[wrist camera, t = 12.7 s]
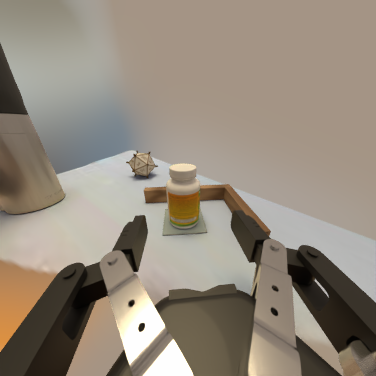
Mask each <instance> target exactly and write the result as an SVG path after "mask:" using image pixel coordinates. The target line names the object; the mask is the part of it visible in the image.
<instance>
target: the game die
mask: <svg viewBox="0 0 376 376" xmlns="http://www.w3.org/2000/svg"><path fill="white" fill-rule="evenodd" d="M149 154H150V152H149V153H148V154H146V153H138V151H137V154H136V155H135V154H134V157H133V158H132V159H131V160H130V161H129V162H126V163H129V164H130V166H131V168H132V169H133V170H132V172H135V176H136V175H142V176H147V178H148V175H149V173H150V172H151V171H152V170H153V169H154V167H158V166H155V164H154V162H153V160H152V158H151V157H150V155H149Z"/></svg>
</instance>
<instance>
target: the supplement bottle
mask: <svg viewBox="0 0 376 376" xmlns="http://www.w3.org/2000/svg"><path fill="white" fill-rule="evenodd" d="M169 169H170V177H171V179H170V180H169V181H168V182H167V184H166V191H167V203H168V215H169V221H170V223H171V224H172V225H173V226H174V227H176V228H179V229H188V228H191V227H193V226H195V225H196V224H197V223H198V221H199V208H200V182H199V181H198V180H197V179H196V178H195V177H196V166H194V165H191V164H176V165H172V166H170V168H169Z"/></svg>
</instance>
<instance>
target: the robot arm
mask: <svg viewBox="0 0 376 376" xmlns="http://www.w3.org/2000/svg"><path fill="white" fill-rule="evenodd" d="M64 197H65V194H64V191H63V189H62V187H61V185H60V183H59V180H58V178H57V176H56V174H55V171H54V169H53V167H52V165H51V163H50V160H49V158H48V156H47V154H46V152H45V150H44V148H43V145H42V143H41V141H40V139H39V136H38V134H37V132H36V130H35V128H34V126H33V124H32V121H31V119H30V117H29V115H28V113H27V111H26V108H25V106H24V103H23V99H22V96H21V94H20V91H19V89H18V87H17V84H16V82H15V80H14V77H13V75H12V72H11V70H10V67H9V64H8V62H7V59H6V57H5V54H4V51H3V49H2V46H1V44H0V211H6V213H9V214H21V213H27V212H32V211H36V210H39V209H43V208H46V207H48V206H51V205H53V204H55V203H57V202H59V201H60V200H62V199H63V198H64ZM231 229H232V231H233V233H234V235H235V237H236V239H237V241H238V242H239V244H240V246H241V248H242V250H243V252H244V254H245V255H246V257H247V259H248V261H249V263H250V262H255V263H256V268H255V274H254V279H253V285H252V290H251V294H250V295H249V294H247V293H245V292H243V291H240V290H237V289H236V287H235V284H227V285H218V286H216V287H214V288H211V289H209V290H207V291H204V292H201V291H195V290H190V289H176V290H169V296H168V297H166V298H164V299H162V300H161V301H159V302H158V303H157V304H156V305H155V306H154V305H153V303H152V302H151V300H150V298H149V296H148V294H147V292H146V291H145V289H144V287H143V285H142V283H141V282H140V280H139V278H138V276H137V275H136V274H134V272H138V270H139V266H140V262H141V258H142V254H143V250H144V246H145V243H146V239H147V234H148V229H147V223H146V218H145V215H140V216H135V218H134V220H133V222H129V223H128V224H127V225H126V226H125V227H124V229H123V231H122V233H121V235H120V237H119V239H118V240H117V242H116V244H115V246H114V248H113V250H112V252H110V253H108V254H107V255H105V256H104V257H103V258H102V260H101V261H100V262H98V263H95V264H92V265H90V266H87V267H85V266H84V264H82V263H74V264H71V265H69V266H67V267H65V268H64V269H63V270H61V271H60V272H59V273H58V274H57V276H56V277H55V278H54V280H53V281H52V282H51V284H50V285H49V287H48V288H47V289H46V291H45V292H44V293H43V295H42V296H41V297H40V299H39V300H38V302H37V303H36V304H35V306H34V307H33V309H32V310H31V311H30V312H29V314H28V315H27V317H26V318H25V319H24V321H23V322H22V323H21V325H20V326H19V327H18V329H17V330H16V332H15V333H14V334H13V336H12V337H11V338H10V340H9V341H8V342H7V344H6V345H5V347H4V348H3V349H2V351H1V352H0V376H66V374H67V372H68V369H69V367H70V364H71V362H72V359H73V356H74V354H75V351H76V349H77V347H78V344H79V342H80V339H81V337H82V334H83V332H84V329H85V327H86V324H87V322H88V320H89V317H90V314H91V312H92V309H93V307H94V305H95V302H96V300H99V299H101V298H103V297H106V296H108V297H109V300H110V304H111V307H112V310H113V313H114V316H115V320H116V323H117V326H118V329H119V333H120V336H121V339H122V342H123V346H124V350H123V352H122V353H121V355H120V356H119V358H118V359H117V361H116V362H115V363H114V365H113V366H112V368H111V369H110V371H109V372H108V374H107V375H106V376H342V375H340V374H339V373H338V372H337V371H336V370H335V369H334V368H333V367H331V366H330V365H329V364H328V363H327V362H326V361H325V360H324V359H322V358H321V357H320V356H319V355H318V354H317V353H316V352H314V351H313V350H312V349H311V348H310V347H309V346H308V345H307V344H306V343H304V342H303V341H302V340H301V339H300V338H299V337H298V336H297V335H295V322H294V307H293V292H292V286H293V287H294V289H295V290H296V291H297V293H298V294H299V296H300V297H301V299H302V300H303V302H304V303H305V305H306V306H307V308H308V309H309V311H310V312H311V314H312V315H313V317H314V318H315V320H316V321H317V323H318V324H319V326H320V327H321V328H322V330H323V331H324V333H325V334H326V336H327V337H328V339H329V340H330V342H331V343H332V345H333V346H334V348H335V349H336V351H337V352H338V354H339V362H340V365H341V367H342V369H343V375H344V376H376V303H375V302H374V301H373V300H372V299H371V298H370V297H369V296H368V295H367V294H366V293H365V292H364V291H363V290H361V289H360V288H359V287H358V286H357V285H356V284H355V283H354V282H353V281H352V280H351V279H350V278H348V277H347V276H346V275H345V274H344V273H343V272H342V271H341V270H340V269H339V268H338V267H337V266H336V265H334V264H333V263H332V262H331V261H330V260H329V259H328V258H327V257H326V256H325V255H324V254H323V253H321V252H320V251H319V250H317V249H315V248H313V247H311V246H307V245H302V246H300V247H299V249H298V250H294V249H289V248H285V247H284V245H283V244H281V243H280V242H278V241H276V240H273V239H271V238H270V237H269V236H268V235H267V234H266V233H265V231H264V230H263V229H262V228H261V227H260V225H259V224H258V223H257V222H256V221H255V220H254V218H252V217H251V216H249V215H246V214H245V213H244V211H243V210H234V211H233V214H232V220H231ZM315 279H316V280H317V281H318V282H319V283H320V284H321V286H322V287H323V288H324V289H325V290H326V292H327V293H328V295H329V298H328V296H327V295H326V294H325V293H324V292H323V290H322V289H321V288H320V287H319V286H318V284H317V283H316V282H315V281H314V280H315Z"/></svg>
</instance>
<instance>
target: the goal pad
mask: <svg viewBox="0 0 376 376" xmlns="http://www.w3.org/2000/svg"><path fill="white" fill-rule="evenodd" d="M196 233H207V230H206V226H205V223H204V220H203V216H202V213H201V209H200V208H199V221H198V223H197V224H196V225H195V226H193V227H191V228H188V229H179V228H176V227H174V226H173V225H172V224H171V223H170V221H169V215H168V209H165V218H164V227H163V236H166V235H181V234H196Z"/></svg>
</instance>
